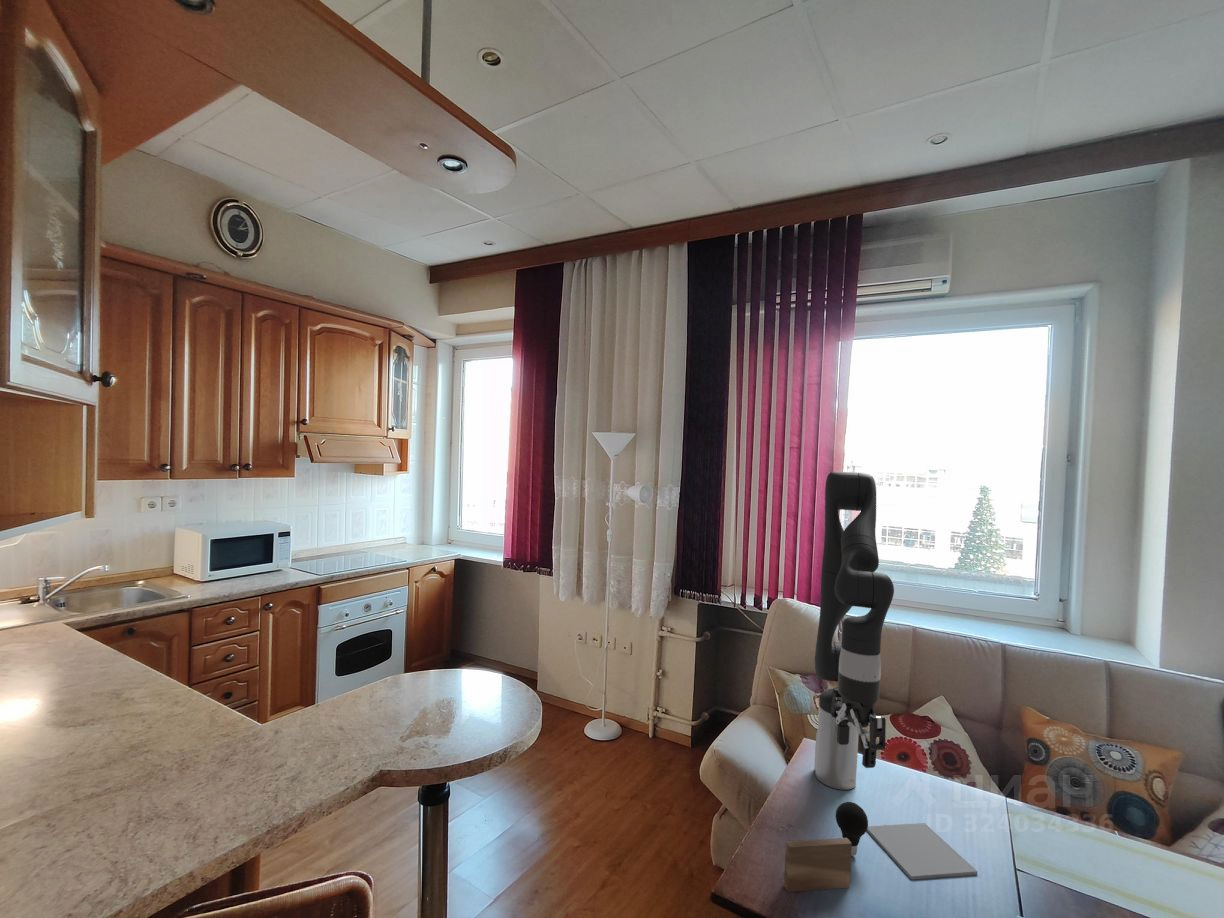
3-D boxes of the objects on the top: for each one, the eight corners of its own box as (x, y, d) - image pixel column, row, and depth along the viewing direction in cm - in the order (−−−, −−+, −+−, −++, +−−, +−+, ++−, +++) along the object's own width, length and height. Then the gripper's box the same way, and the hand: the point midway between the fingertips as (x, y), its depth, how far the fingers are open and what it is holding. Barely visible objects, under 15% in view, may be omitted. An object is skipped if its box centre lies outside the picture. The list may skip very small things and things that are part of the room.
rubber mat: (865, 829, 117) (865, 826, 117) (924, 825, 119) (924, 823, 119) (911, 879, 103) (911, 876, 103) (977, 874, 105) (977, 871, 105)
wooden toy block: (783, 885, 100) (786, 841, 100) (844, 881, 102) (847, 837, 102) (787, 892, 98) (789, 847, 98) (849, 887, 100) (851, 843, 100)
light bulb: (863, 848, 111) (866, 799, 111) (868, 869, 105) (871, 816, 105) (832, 842, 112) (834, 792, 112) (835, 861, 106) (838, 810, 106)
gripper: (900, 687, 102) (896, 774, 102) (855, 659, 116) (851, 736, 116) (863, 687, 101) (859, 776, 101) (822, 659, 115) (818, 737, 115)
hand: (855, 754), depth 109 cm, fingers open, 8 cm apart
